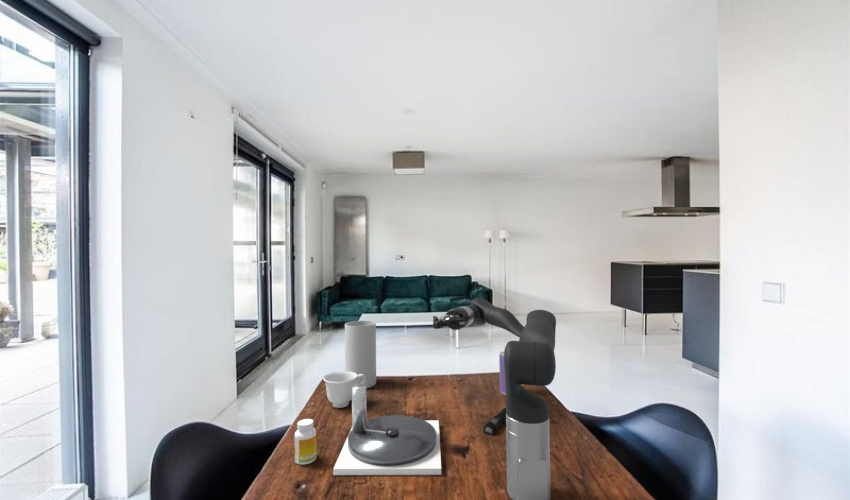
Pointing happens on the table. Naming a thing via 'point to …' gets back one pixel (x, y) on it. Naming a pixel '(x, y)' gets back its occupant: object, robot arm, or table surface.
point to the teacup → (341, 387)
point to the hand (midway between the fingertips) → (435, 325)
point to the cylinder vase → (361, 350)
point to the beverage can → (502, 373)
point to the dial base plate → (420, 467)
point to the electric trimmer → (495, 423)
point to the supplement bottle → (305, 442)
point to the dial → (387, 435)
